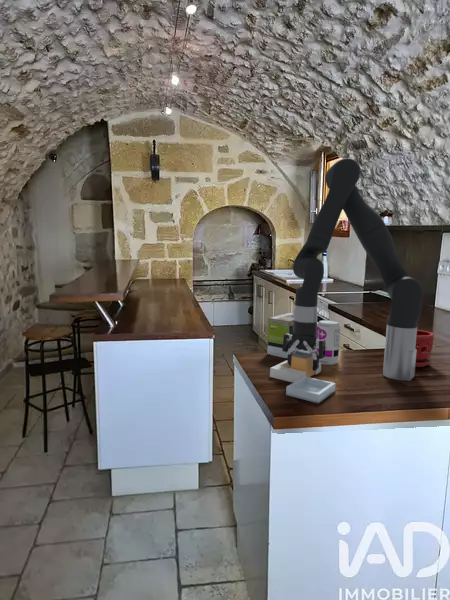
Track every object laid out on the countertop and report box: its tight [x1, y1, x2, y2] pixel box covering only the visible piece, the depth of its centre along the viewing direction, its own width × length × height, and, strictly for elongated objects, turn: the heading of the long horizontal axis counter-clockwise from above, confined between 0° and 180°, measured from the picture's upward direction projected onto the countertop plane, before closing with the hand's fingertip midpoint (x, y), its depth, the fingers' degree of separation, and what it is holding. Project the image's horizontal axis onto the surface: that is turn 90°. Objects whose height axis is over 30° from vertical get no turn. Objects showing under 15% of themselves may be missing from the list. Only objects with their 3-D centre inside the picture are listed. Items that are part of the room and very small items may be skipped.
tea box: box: [266, 312, 299, 359], centre depth 168 cm, size 15×10×15 cm, turn 141°
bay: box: [269, 359, 322, 383], centre depth 143 cm, size 11×16×3 cm
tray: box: [285, 376, 336, 404], centre depth 126 cm, size 10×12×2 cm
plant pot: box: [415, 329, 434, 368], centre depth 158 cm, size 13×13×12 cm
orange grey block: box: [291, 350, 315, 378], centre depth 141 cm, size 5×7×8 cm
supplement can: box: [315, 319, 341, 366], centre depth 157 cm, size 8×8×15 cm
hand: (302, 367), depth 142 cm, fingers open, 8 cm apart
